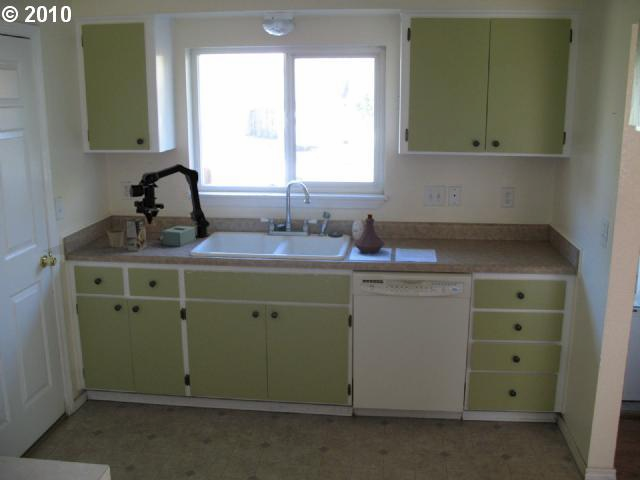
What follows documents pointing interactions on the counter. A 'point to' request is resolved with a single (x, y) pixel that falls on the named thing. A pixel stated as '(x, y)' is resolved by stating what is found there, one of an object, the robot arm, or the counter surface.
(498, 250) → the counter surface
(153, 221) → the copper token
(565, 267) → the counter surface
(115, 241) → the flower pot
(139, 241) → the coffee box
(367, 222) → the flask
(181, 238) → the box
